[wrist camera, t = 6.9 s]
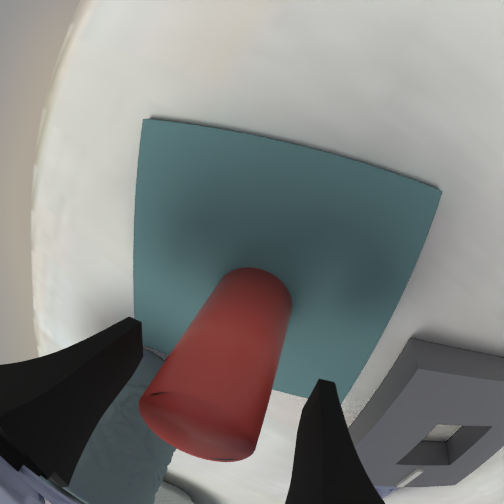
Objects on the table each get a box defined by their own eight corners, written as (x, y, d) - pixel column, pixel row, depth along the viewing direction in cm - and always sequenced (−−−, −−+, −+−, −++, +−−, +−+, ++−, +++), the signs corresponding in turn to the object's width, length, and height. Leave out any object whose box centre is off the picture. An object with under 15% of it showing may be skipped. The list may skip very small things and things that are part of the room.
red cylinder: (282, 341, 16) (245, 471, 9) (211, 321, 17) (144, 435, 10) (300, 279, 14) (267, 418, 7) (219, 258, 15) (132, 371, 8)
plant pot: (223, 388, 20) (155, 540, 9) (180, 435, 24) (128, 537, 14) (101, 310, 20) (-10, 425, 9) (89, 377, 24) (19, 464, 14)
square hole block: (451, 465, 19) (454, 487, 17) (325, 456, 21) (322, 483, 19) (546, 364, 13) (560, 389, 11) (410, 337, 15) (419, 372, 12)
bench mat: (340, 398, 18) (339, 405, 17) (140, 336, 20) (136, 341, 19) (438, 188, 12) (442, 191, 11) (149, 118, 14) (143, 119, 13)
